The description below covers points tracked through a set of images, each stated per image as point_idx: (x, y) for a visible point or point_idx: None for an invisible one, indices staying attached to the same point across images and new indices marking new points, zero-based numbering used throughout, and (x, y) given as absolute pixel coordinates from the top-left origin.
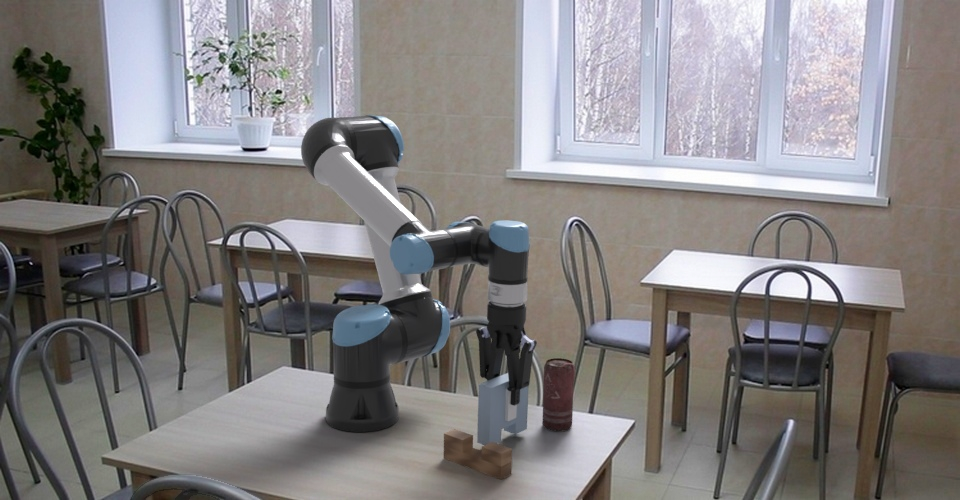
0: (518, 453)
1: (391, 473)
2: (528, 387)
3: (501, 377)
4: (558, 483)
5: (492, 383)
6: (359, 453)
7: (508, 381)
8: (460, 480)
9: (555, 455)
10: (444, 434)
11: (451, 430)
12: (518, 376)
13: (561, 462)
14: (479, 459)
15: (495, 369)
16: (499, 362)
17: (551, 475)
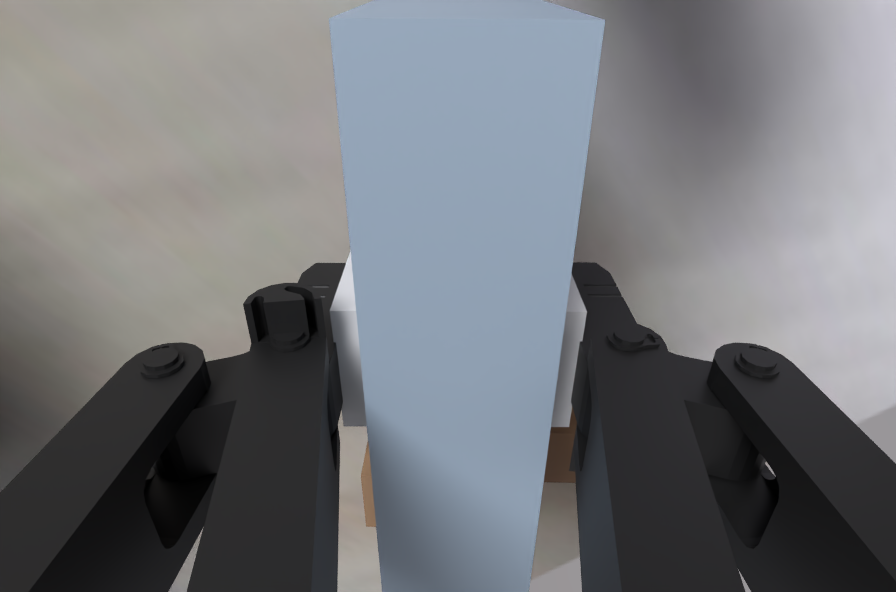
0: (600, 229)
1: (347, 575)
2: (556, 5)
3: (413, 428)
4: (889, 352)
5: (461, 571)
6: None
7: (544, 450)
8: (546, 510)
9: (784, 126)
10: (370, 523)
11: (364, 491)
12: (752, 575)
13: (843, 178)
14: (567, 479)
15: (333, 533)
16: (323, 576)
17: (838, 314)
